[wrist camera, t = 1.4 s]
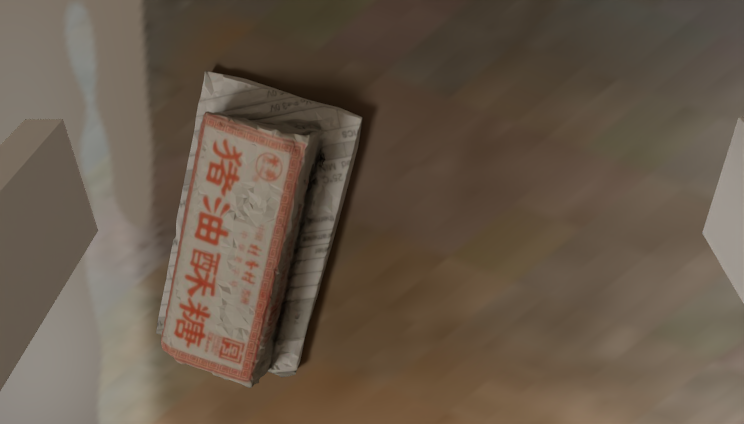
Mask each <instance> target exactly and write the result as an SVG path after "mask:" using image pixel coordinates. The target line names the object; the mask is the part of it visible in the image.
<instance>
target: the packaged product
mask: <svg viewBox="0 0 744 424" xmlns="http://www.w3.org/2000/svg"><path fill="white" fill-rule="evenodd" d="M362 118H363V117H360V116H358V115H356V114H353V113H351V112H349V111H346V110H344V109H342V108H339V107H335V106H331V105H327V104H323V103H319V102H315V101H311V100H307V99H304V98H302V97H299V96H296V95H293V94H290V93H287V92H284V91H281V90H278V89H275V88H272V87H269V86H266V85H263V84H260V83H257V82H254V81H251V80H248V79H244V78H239V77H235V76H229V75H224V74H219V73H214V72H207V71H205V75H204V82H203V88H202V93H201V97H200V100H199V104H198V109H197V115H196V122H195V130H194V135H193V140H192V145H191V150H190V155H189V160H188V165H187V170H186V175H185V180H184V185H183V191H182V196H181V201H180V205H179V210H178V216H177V221H176V237H175V239H174V240H173V245H172V250H171V255H170V260H169V266H168V272H167V279H166V283H165V288H164V293H163V298H162V302H161V309H160V313H159V318H158V324H157V331H156V333H157V334H161V335H162V338H161V345H162V348H163V350H164V351H165V352H167V353H168V354H169V355H171V356H173V357H174V359H175V360H176V361H177V362H178V363H181V364H188V365H190V366H193V367H196V368H199V369H203V370H206V371H209V372H211V373H212V374H213V375H215V376H218V377H222V378H224V379H225V380H232V381H234V382H237V383H240V384H242V385H244V386H246V387H249V388H251V387H253V385H254V384H256V383H259V379H260V377H262V376H264V375H265V374H266V373H267V372H270V373H273V374H276V375H279V376H280V377H286V376H291V375H295V373H296V371H297V368H298V365H299V363H300V360H301V355H302V350H303V344H304V339H305V335H306V331H307V328H308V325H309V322H310V318H311V315H312V312H313V309H314V305H315V302H316V299H317V296H318V293H319V289H320V285H321V281H322V278H323V274H324V271H325V267H326V264H327V260H328V257H329V254H330V250H331V247H332V244H333V240H334V236H335V233H336V229H337V225H338V222H339V218H340V214H341V210H342V207H343V203H344V199H345V195H346V192H347V188H348V184H349V180H350V176H351V172H352V168H353V165H354V161H355V157H356V153H357V149H358V145H359V138H360V132H361V125H362Z"/></svg>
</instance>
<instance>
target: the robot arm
mask: <svg viewBox="0 0 744 424" xmlns="http://www.w3.org/2000/svg"><path fill="white" fill-rule="evenodd" d="M97 232H98V229H97V225H96V222H95V219H94V216H93V213H92V210H91V207H90V203H89V200H88V197H87V194H86V191H85V188H84V184H83V181H82V178H81V175H80V172H79V169H78V165H77V162H76V159H75V156H74V153H73V150H72V146H71V143H70V140H69V137H68V134H67V131H66V127H65V125H64V121H63V119H40V120H39V119H28V120H27V119H25V120H24V121H23V122H22V123H21V125H20V126H19V127H18V128H17V129H16V130H15V131H14V132H13V133H12V134H11V135H10V136H9V137H8V138H7V139H6V140H5V141H4V142H3V143H2V144H1V145H0V391H1V389H2V387H3V386H4V384H5V382H6V381H7V379H8V378H9V376H10V374H11V373H12V371H13V369H14V368H15V366H16V364H17V363H18V361H19V359H20V358H21V356H22V355H23V353H24V351H25V350H26V348H27V346H28V344H29V343H30V341H31V340H32V338H33V337H34V335H35V333H36V332H37V330H38V328H39V327H40V325H41V323H42V322H43V320H44V318H45V317H46V315H47V313H48V312H49V310H50V308H51V307H52V305H53V304H54V302H55V300H56V299H57V297H58V295H59V294H60V292H61V290H62V289H63V287H64V286H65V284H66V282H67V281H68V279H69V277H70V276H71V274H72V272H73V271H74V269H75V267H76V266H77V264H78V263H79V261H80V259H81V258H82V256H83V254H84V253H85V251H86V250H87V248H88V246H89V245H90V243H91V241H92V240H93V238H94V236H95V235H96V233H97ZM702 233H703V235H704V237H705V239H706V240H707V242H708V244H709V245H710V247H711V249H712V250H713V252H714V254H715V256H716V257H717V259H718V261H719V262H720V264H721V266H722V268H723V269H724V271H725V273H726V274H727V276H728V278H729V279H730V281H731V283H732V285H733V286H734V288H735V290H736V291H737V293H738V295H739V297H740V298H741V300H742V302H743V303H744V117H739V118H738V121H737V125H736V128H735V131H734V134H733V137H732V140H731V144H730V147H729V150H728V153H727V156H726V159H725V163H724V166H723V169H722V172H721V175H720V179H719V182H718V185H717V188H716V191H715V194H714V198H713V201H712V204H711V207H710V210H709V213H708V217H707V220H706V223H705V226H704V229H703V232H702Z"/></svg>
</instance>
